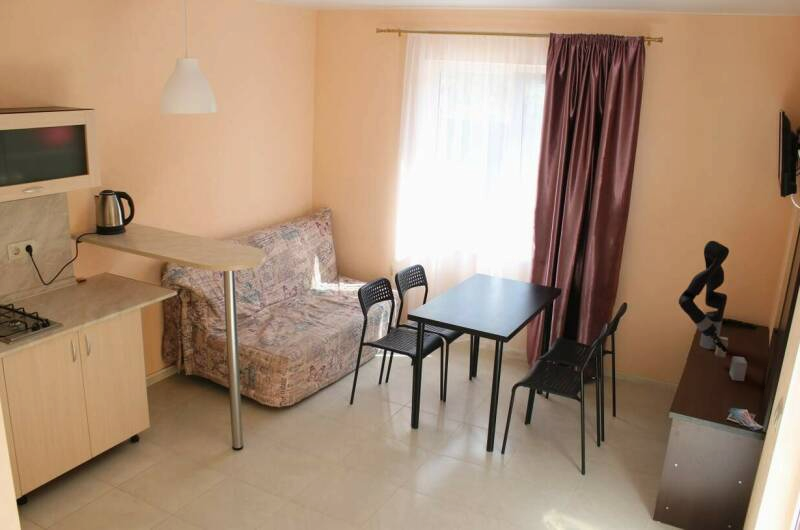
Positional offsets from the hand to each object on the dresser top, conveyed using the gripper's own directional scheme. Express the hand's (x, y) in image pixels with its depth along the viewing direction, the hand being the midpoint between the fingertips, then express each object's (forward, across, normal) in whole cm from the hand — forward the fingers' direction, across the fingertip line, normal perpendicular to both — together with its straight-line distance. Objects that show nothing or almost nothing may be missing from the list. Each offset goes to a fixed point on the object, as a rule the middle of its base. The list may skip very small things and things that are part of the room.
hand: (725, 348), depth 388 cm
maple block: (+2, 0, +4) cm, 5 cm away
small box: (+11, -14, +3) cm, 18 cm away
